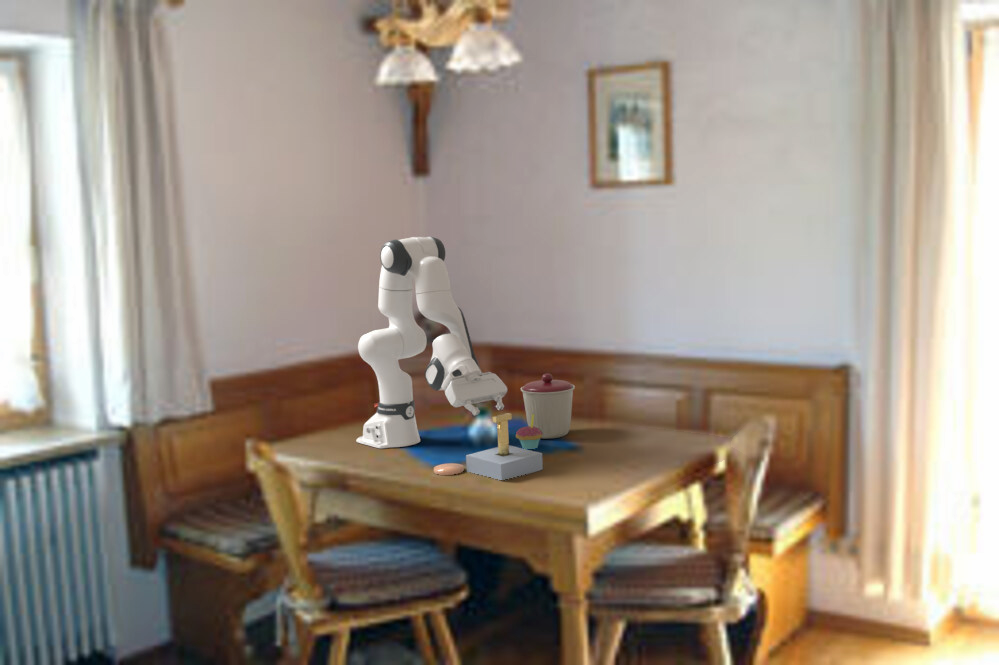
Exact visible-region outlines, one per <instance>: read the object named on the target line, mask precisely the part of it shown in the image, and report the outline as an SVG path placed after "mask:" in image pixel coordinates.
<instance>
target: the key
mask: <svg viewBox="0 0 999 665" xmlns="http://www.w3.org/2000/svg"><path fill="white" fill-rule="evenodd" d="M512 415H513V414H512V413H510V412H507V413H503V414H499V415H493V416H492V423H495V424H496V430H497V447H498V453H499V456H503V457H504V456H508V455H509V445H510V441H509V438H510V437H509V436H510V435H509V420H512V419H513V418H512V417H513V416H512Z"/></svg>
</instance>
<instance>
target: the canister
mask: <svg viewBox="0 0 999 665" xmlns="http://www.w3.org/2000/svg"><path fill="white" fill-rule="evenodd" d="M575 388H576V387H575V385H574V384H572V383H571V382H569V381H566V380H561V379H553V375H552V374H551V373H544V374H542V375H541V380H540V379H539V380H534V381H531V382H527V383H525V384H524V386H521V387H520V392H522V397H523V403H524V408H525V415H526V416H525V417H526V421H527V426H531V420H532V414H533V412H534V420H533V426H534V427H537V428H539V429H540V430H541V431H542V433H543V434H542V438H541V439H548V440H549V439H558V438H563V437H564V436H566V435H568V433H569V432H570V428H571V423H572V422H571V420H572V409H573V408H572V407H573V396H574V395H573V394H574V392H573V391H574V390H575Z"/></svg>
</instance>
